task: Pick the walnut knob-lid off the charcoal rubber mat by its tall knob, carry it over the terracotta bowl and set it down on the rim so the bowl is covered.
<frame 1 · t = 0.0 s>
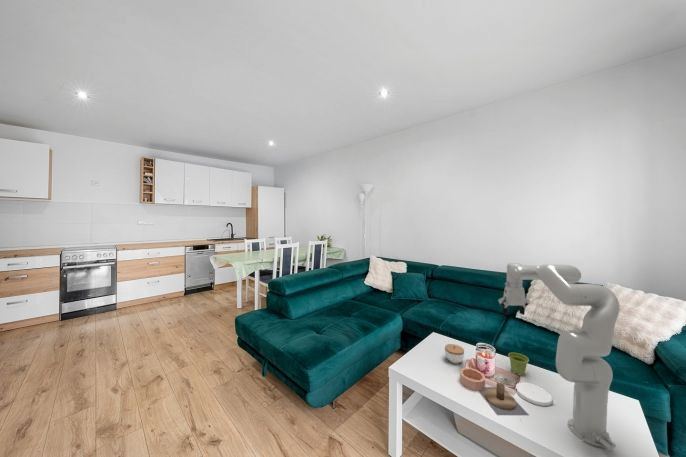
hand: (513, 314, 143), 31 cm above the table, fingers open, 9 cm apart
lidded jar: (454, 361, 150), on the table
plastic lid: (533, 397, 120), on the table
lid: (500, 392, 117), on the mat
plant pot: (517, 372, 139), on the table
mat: (500, 400, 117), on the table
bowl: (472, 383, 129), on the table
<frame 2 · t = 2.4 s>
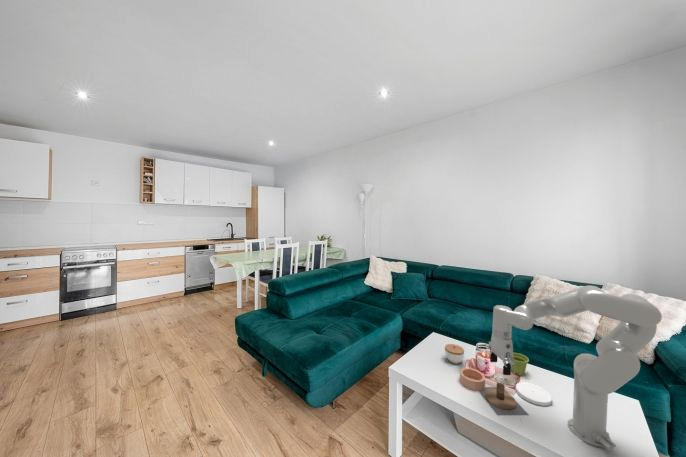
hand: (499, 368, 117), 16 cm above the table, fingers open, 9 cm apart
nothing on the table moved.
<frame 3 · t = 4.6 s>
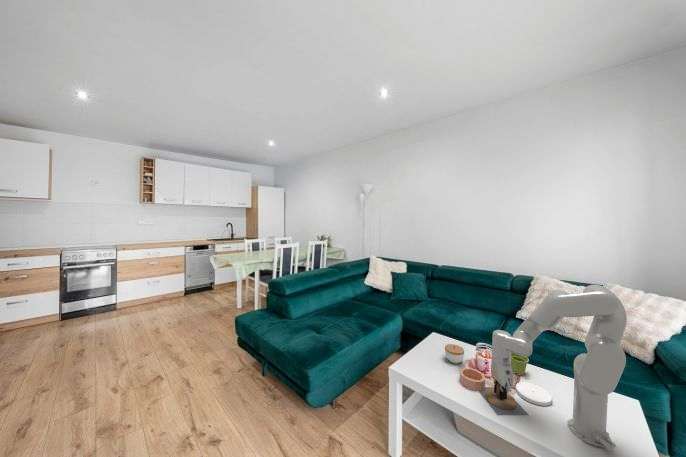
hand: (500, 395, 117), 3 cm above the table, fingers closed on lid, 3 cm apart
lid: (500, 392, 117), on the mat, touching gripper
everything else where it was.
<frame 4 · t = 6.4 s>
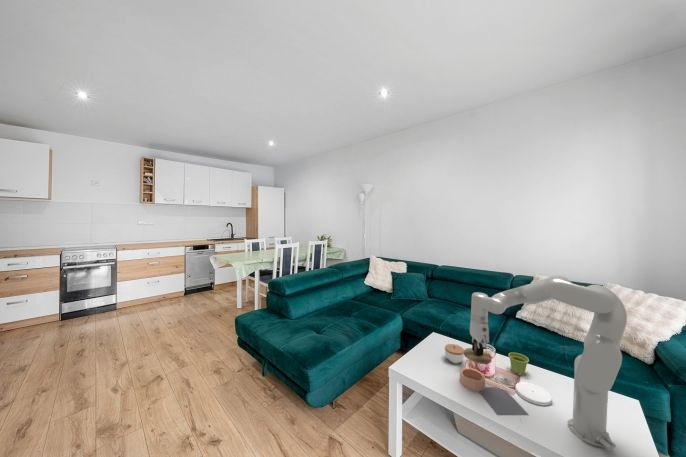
hand: (477, 352, 126), 18 cm above the table, fingers closed on lid, 3 cm apart
lid: (477, 349, 126), point 20 cm above the table, touching gripper
everything else where it was.
when the fingers open (9 cm above the table, at t = 8.9 s): lid drops 1 cm, resting on bowl.
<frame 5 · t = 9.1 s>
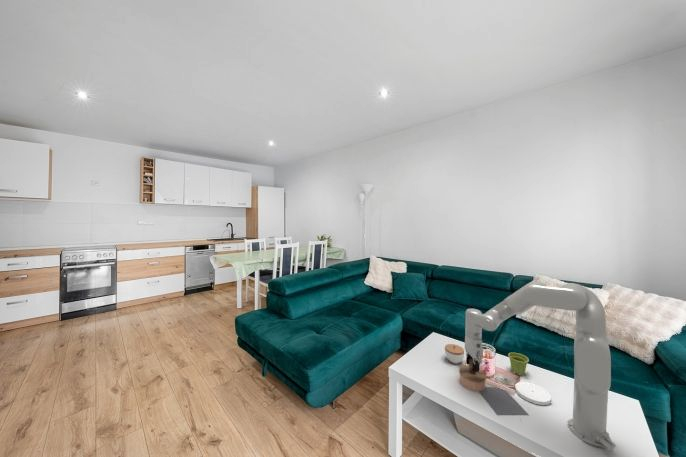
hand: (472, 367, 129), 9 cm above the table, fingers open, 5 cm apart
lid: (472, 367, 129), on the bowl, point 9 cm above the table
everything else where it was.
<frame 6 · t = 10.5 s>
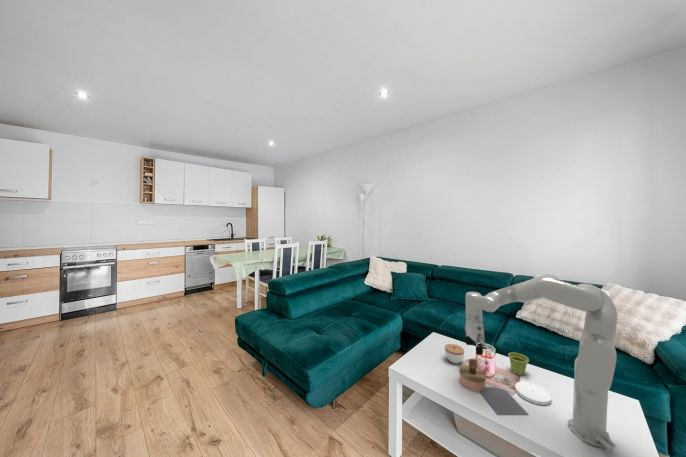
hand: (474, 349, 128), 19 cm above the table, fingers open, 9 cm apart
nothing on the table moved.
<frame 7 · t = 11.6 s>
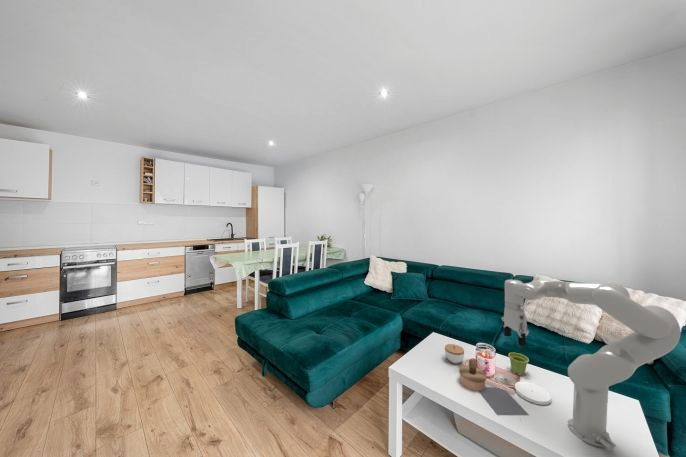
hand: (514, 340, 121), 27 cm above the table, fingers open, 9 cm apart
nothing on the table moved.
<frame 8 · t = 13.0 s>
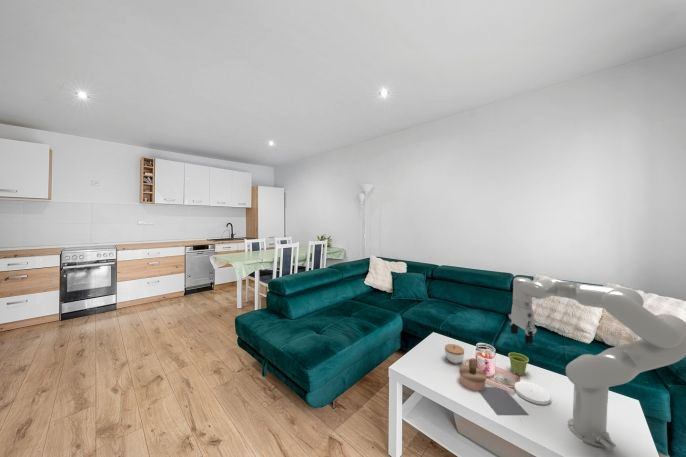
hand: (521, 338, 120), 28 cm above the table, fingers open, 9 cm apart
nothing on the table moved.
at the end: lid 0.1 cm from the bowl (horizontally); lid 0.1 cm off-centre on the bowl, point 8.7 cm above the bowl's base; lid tilted 0° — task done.
